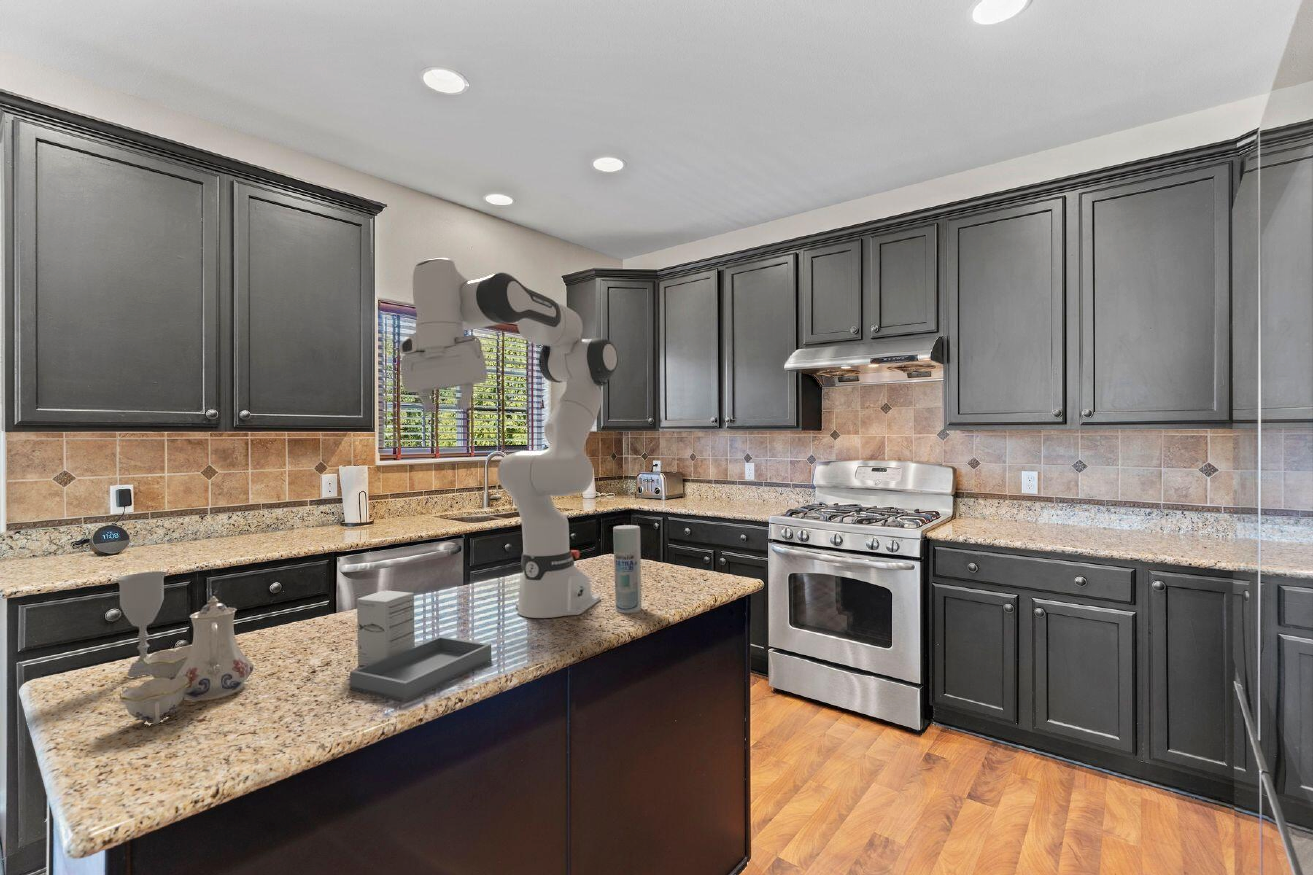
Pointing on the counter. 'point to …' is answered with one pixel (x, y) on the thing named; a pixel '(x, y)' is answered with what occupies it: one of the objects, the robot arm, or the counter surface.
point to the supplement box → (384, 625)
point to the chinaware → (192, 668)
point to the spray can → (627, 568)
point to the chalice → (141, 609)
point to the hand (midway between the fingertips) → (446, 410)
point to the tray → (419, 668)
